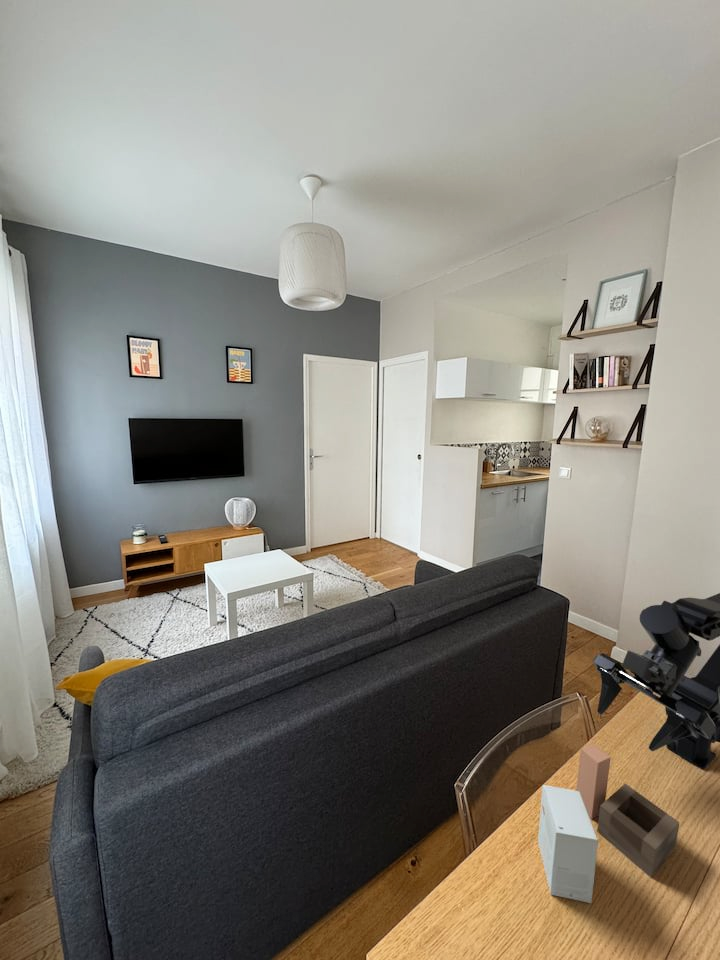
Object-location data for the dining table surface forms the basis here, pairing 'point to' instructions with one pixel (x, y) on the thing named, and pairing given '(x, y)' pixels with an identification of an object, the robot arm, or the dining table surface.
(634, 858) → the socket block
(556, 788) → the small box
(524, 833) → the dining table surface
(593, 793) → the peg
